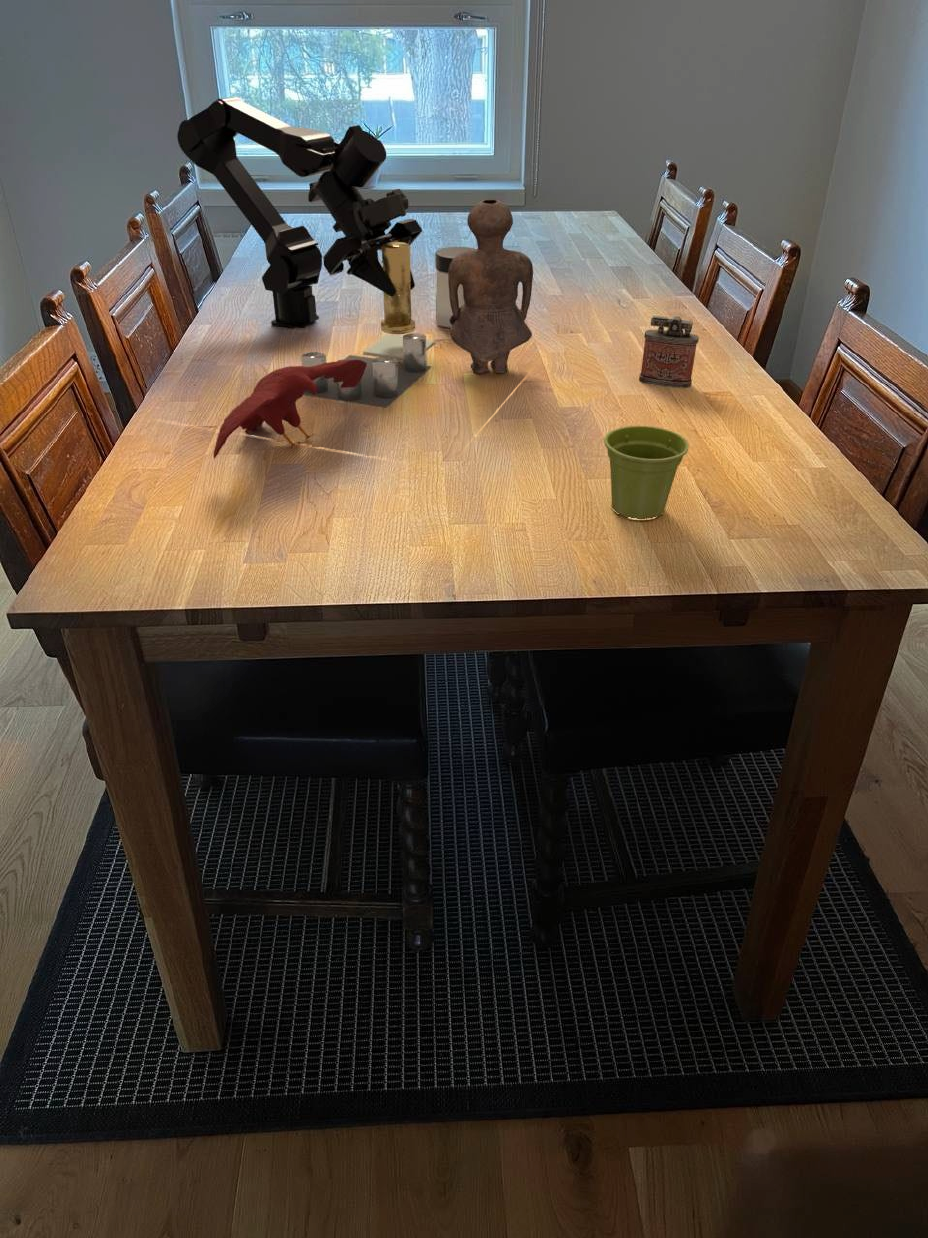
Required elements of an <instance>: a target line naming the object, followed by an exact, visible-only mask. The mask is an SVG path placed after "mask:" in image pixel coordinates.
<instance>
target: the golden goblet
mask: <svg viewBox="0 0 928 1238" xmlns="http://www.w3.org/2000/svg"><path fill="white" fill-rule="evenodd" d="M381 257H382V258H381V259H382V260H381V261H382V262H381V263H382V264H381V265H382V268H383V269H384V271H385V273H386V274H387V276H388V278H389V279H390V281H391V283H392V284H393V286H394V289H395V291H396V294H395V295H394V296H392V297H391V296H389V295H388V294H386V293H384V292H383V291H382V294H383V318H384V319H382V320H381V321H380V330H381V332H384V333H386V334H389V335H406V334H411V333H414V332H415V330H416V321H415V319H412V290H411V272H412V269H411V245H409V244H407V243H403V242H389V243H385V244H383V245H382V251H381ZM410 269H411V270H410Z"/></svg>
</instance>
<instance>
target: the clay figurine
mask: <svg viewBox="0 0 928 1238" xmlns="http://www.w3.org/2000/svg"><path fill="white" fill-rule="evenodd" d="M466 219H467V226H468V229H469V230H470V232H471V234H472V235H474V237H475V239H476V240H475V241H476V243H477V244H476V245H477V248H476V249H477V250H473V251H467V252H463V253H460V254H458V255H457V256H456V257H455V258H454V259H453V260H452V262H451V264H450V266H449V272H448V285H449V298H450V305H451V309H452V313H453V315H452V316H451V318H450V323H451V324H452V327H451V328H450V330H449V331H450V338H451V340H452V342H453V343H454V344H455V345H457V346H458V347H459V348H461V349H462V350H463V351H466V353H469V354H470V357H471V360H472V363H471V364H470V368H471V370H472V371H473V372H474V373H476V374H484V373H487V372H488V371H489V364H490V366H491V367H492V368H493V373H495V374H505V373H507V372H508V359H509V356H510V353H511V351H512V350H514V349H516V348H518V347H519V346H521V345H523V344H525V343H527V342H528V341H529V340H531V338H532V337H533V332H532V330H531V329H530V327H529V326H528V325H527V323H526V321H525V320H526V319H527V316H528V312H529V308H530V304H531V300H532V298H531V297H532V291H533V289H532V288H533V280H534V267H533V263H532V261H531V259H530V257H528V255H526V254H525V253H523V252H521V251H517V250H510V249H506V248H505V247H504V246H503V245H504V240H505V238H506V236H507V234H508V233H509V232H510V231H511V229H512V226H513V224H514V219H513V214H512V212H511V210H510V208H509V206H508V205H506V204H505V203H503V202H502V201H501V200H498V199H493V198H492V199H489V198H488V199H484V200H481V201H479V202H478V203H476V204H475V205H474V206H473V207H472V208H471V209H470V211H469V213H468V214H467V218H466ZM520 283H521V285H522V290H521V291H522V296H521V297H522V298H521V306H520V307H521V308H519V307H518V305H517V299H518V296H519V291H518V290H519V284H520ZM460 284H462V286H463V297H464V302H465V303H464V305H463V306H462V307H460V308H459V299H458V287H459V285H460ZM489 362H490V363H489Z"/></svg>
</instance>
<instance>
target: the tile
mask: <svg viewBox="0 0 928 1238" xmlns="http://www.w3.org/2000/svg"><path fill="white" fill-rule="evenodd" d="M434 344H435V341H434V340H429V339H426V351H427V350H428V349H429V348H431V347H432V346H433V345H434ZM362 353H363V354H364V355H371V356H375V357H376V356H377V357H393V358H395V359H397V360H399V359H400V360H404V356H403V336H399V335H391V334H384V335H383V336H382V337H380V339H378V340H376V341H375V342H374V343H373V344H371V345H370V346H368V347H367V348H366V349H364V350H363V351H362ZM363 354H362V355H363Z"/></svg>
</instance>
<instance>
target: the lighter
mask: <svg viewBox="0 0 928 1238" xmlns="http://www.w3.org/2000/svg"><path fill="white" fill-rule="evenodd" d="M693 324H694V322H693V320H687V319H686V320H683V319H682V317H680V316H677V315H675V316H674V317H672V318H669V317H667V316H659V315H652V317H651V319H650V326H651V327H658V328H657V329H646V330H645V331H644V335H643V336H644V346H643V353H642V354H643V355H642V361H641V367H640V368H641V369H640V373H639V375H638V381H639V382H640V383H643V384H647V385H651V384H653V386H657V385H658V387H667V388H675V389H677V388H678V389H679V388H680V389H688V388H691V387H692V382H693V378H692V375H693V370H694V363H695V357H696V351H697V344H698V343H699V339H700V338H699V335H697V334H695V333H694V334H693V333H692V329H693ZM665 328H667V329H666V330H665Z"/></svg>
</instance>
